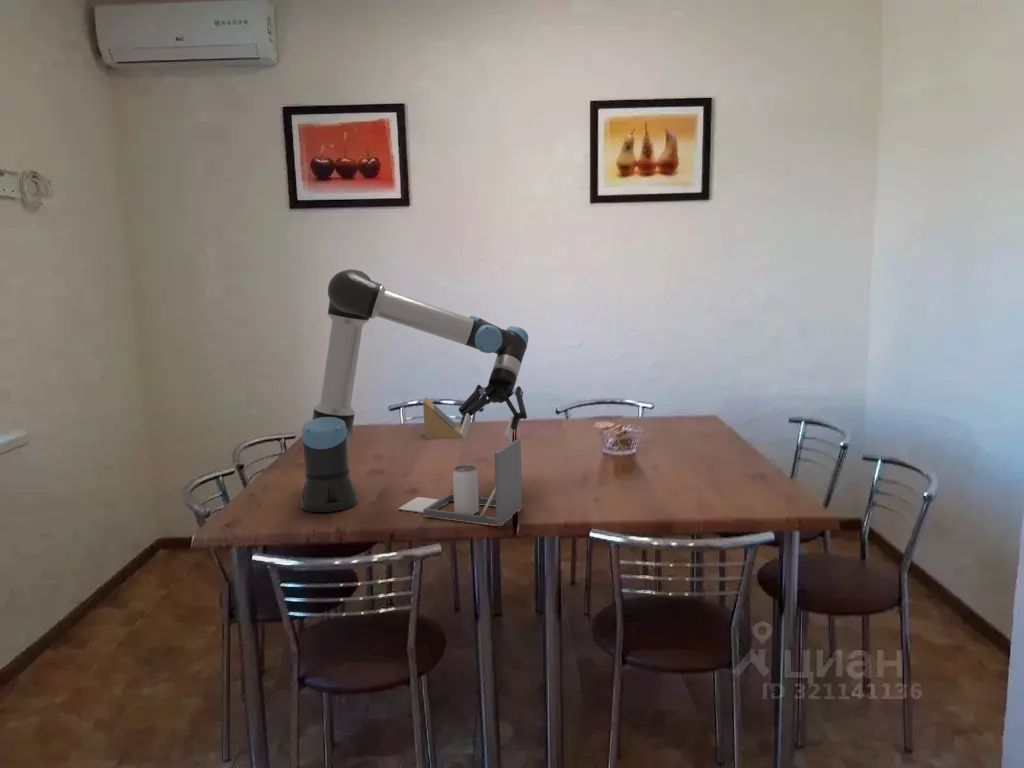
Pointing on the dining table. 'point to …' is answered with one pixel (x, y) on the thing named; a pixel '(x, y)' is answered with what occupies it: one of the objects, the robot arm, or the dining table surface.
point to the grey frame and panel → (506, 490)
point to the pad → (418, 504)
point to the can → (465, 490)
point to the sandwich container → (438, 422)
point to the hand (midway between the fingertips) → (484, 437)
